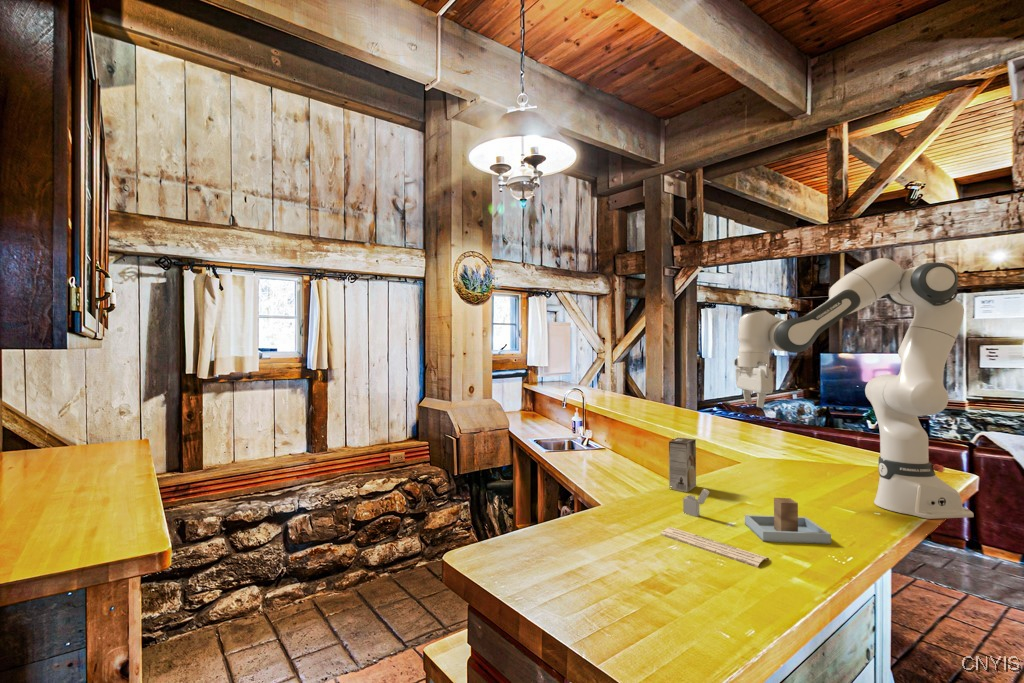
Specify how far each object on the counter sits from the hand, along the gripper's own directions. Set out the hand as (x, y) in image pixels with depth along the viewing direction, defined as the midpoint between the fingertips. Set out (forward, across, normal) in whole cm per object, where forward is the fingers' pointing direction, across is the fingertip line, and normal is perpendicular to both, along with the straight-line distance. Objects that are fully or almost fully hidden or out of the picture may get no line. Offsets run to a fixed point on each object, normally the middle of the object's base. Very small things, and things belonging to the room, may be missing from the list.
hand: (753, 405), depth 151 cm
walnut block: (+29, -30, +4) cm, 42 cm away
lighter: (+29, -19, +23) cm, 42 cm away
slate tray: (+29, -30, +4) cm, 42 cm away
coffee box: (+29, +8, +20) cm, 36 cm away
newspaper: (+30, -40, +25) cm, 56 cm away
